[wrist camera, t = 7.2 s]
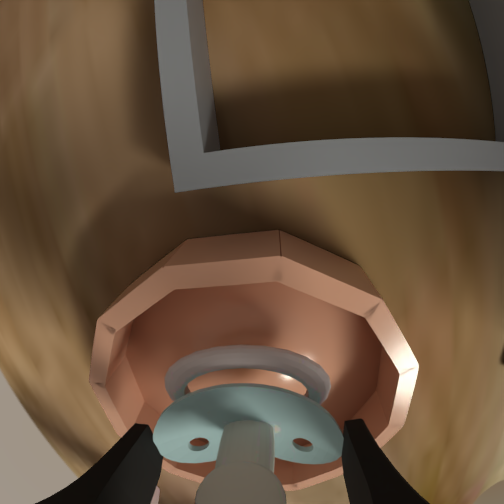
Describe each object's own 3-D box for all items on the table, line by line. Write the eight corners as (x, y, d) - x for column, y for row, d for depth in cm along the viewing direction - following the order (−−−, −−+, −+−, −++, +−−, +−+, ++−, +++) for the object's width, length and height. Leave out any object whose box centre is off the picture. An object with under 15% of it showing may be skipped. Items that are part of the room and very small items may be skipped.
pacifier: (148, 334, 12) (178, 436, 13) (71, 455, 6) (144, 542, 7) (344, 330, 11) (332, 436, 13) (389, 473, 5) (347, 551, 7)
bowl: (402, 219, 12) (435, 240, 9) (376, 440, 16) (385, 477, 13) (85, 251, 13) (47, 276, 10) (161, 448, 17) (149, 483, 14)
